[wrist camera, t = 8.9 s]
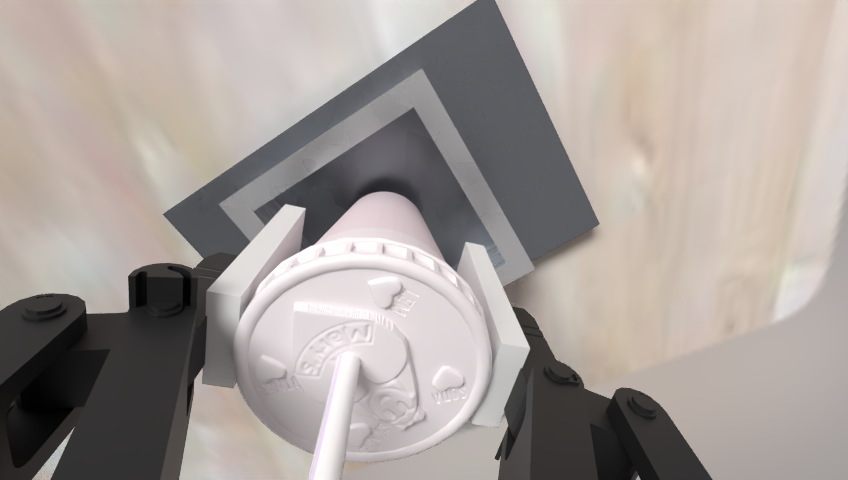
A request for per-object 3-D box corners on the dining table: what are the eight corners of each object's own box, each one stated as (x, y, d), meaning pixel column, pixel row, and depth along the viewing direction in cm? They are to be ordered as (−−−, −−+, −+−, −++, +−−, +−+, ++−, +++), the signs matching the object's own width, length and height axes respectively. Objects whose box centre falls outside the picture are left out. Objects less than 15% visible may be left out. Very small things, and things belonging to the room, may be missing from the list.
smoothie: (397, 130, 17) (365, 310, 4) (480, 242, 19) (632, 594, 6) (285, 217, 18) (-11, 564, 5) (374, 313, 20) (317, 727, 7)
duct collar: (318, 367, 25) (305, 411, 21) (173, 207, 20) (130, 233, 17) (591, 217, 22) (623, 243, 18) (486, -5, 17) (504, -22, 14)
